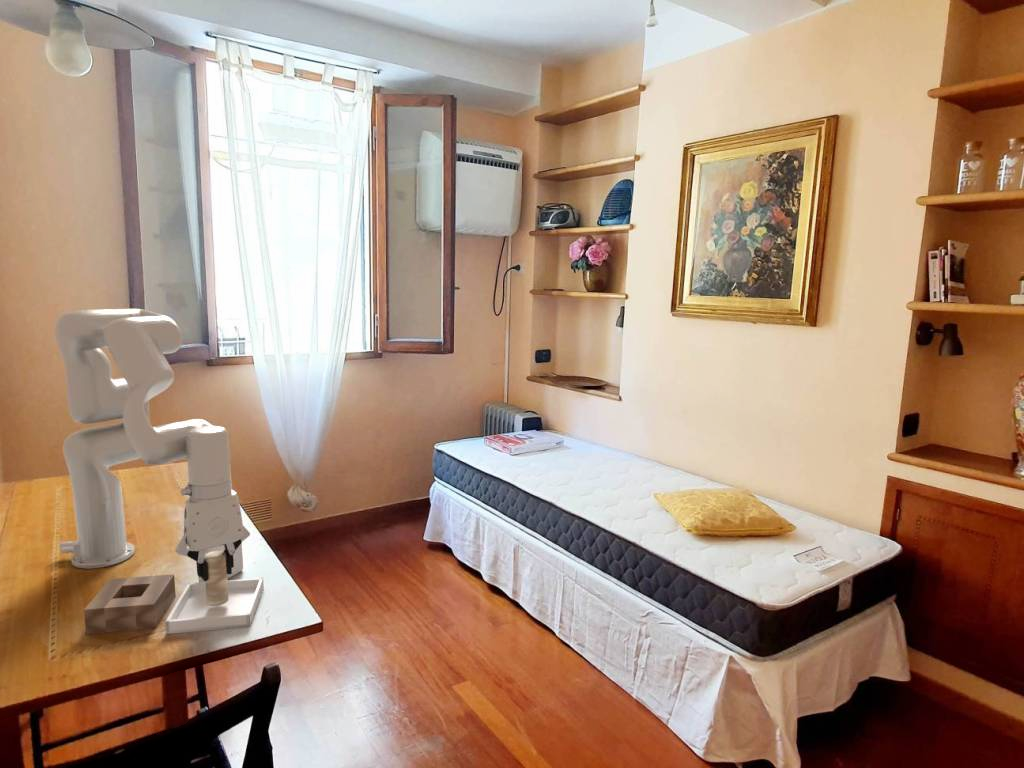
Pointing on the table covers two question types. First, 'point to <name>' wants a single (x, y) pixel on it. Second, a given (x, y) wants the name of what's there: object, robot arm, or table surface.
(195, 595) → the tray
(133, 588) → the holder
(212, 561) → the dowel
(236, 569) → the photo printer
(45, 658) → the table surface
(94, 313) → the robot arm
